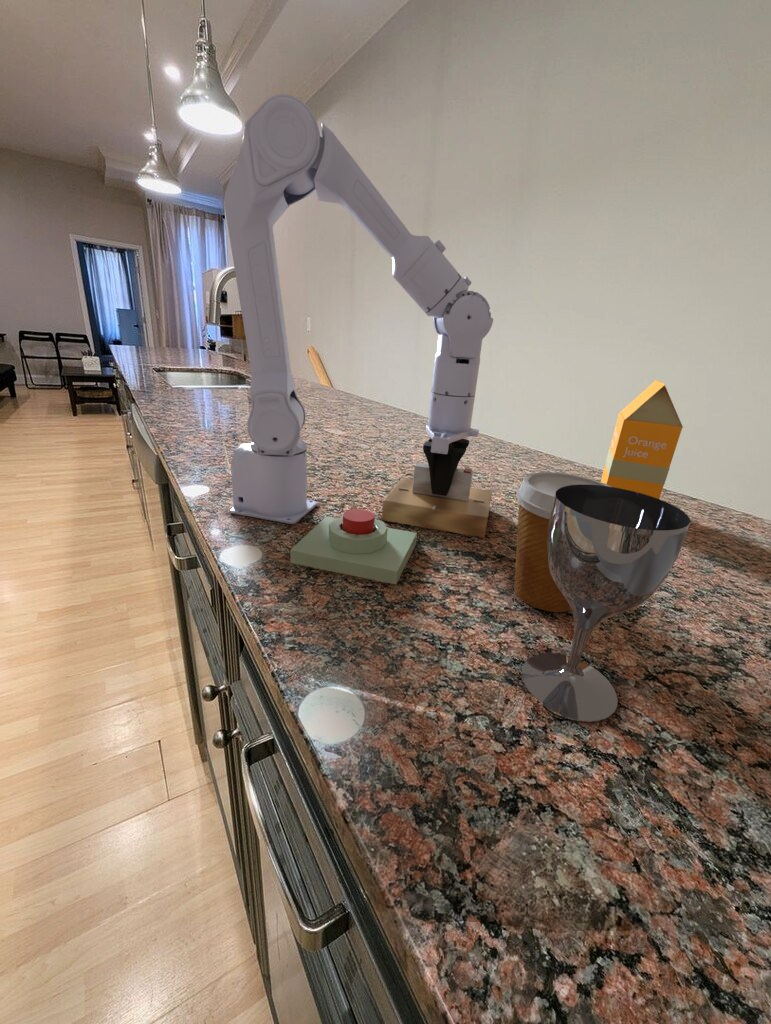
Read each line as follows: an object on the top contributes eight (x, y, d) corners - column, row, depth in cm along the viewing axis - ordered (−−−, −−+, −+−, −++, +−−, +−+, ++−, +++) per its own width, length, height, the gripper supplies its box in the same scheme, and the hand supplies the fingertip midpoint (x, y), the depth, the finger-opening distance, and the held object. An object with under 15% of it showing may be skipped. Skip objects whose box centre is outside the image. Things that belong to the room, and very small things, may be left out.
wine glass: (501, 650, 38) (536, 482, 32) (590, 650, 39) (639, 486, 33) (538, 728, 30) (592, 528, 25) (647, 725, 31) (723, 532, 26)
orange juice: (597, 511, 70) (633, 380, 63) (596, 495, 78) (627, 376, 70) (653, 522, 68) (697, 387, 60) (645, 503, 75) (684, 381, 68)
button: (337, 532, 50) (338, 518, 49) (348, 520, 53) (349, 507, 52) (368, 538, 49) (369, 523, 48) (377, 525, 52) (378, 512, 51)
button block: (290, 563, 49) (289, 534, 47) (325, 528, 58) (326, 503, 56) (396, 585, 46) (398, 555, 45) (415, 545, 55) (418, 519, 54)
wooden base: (380, 522, 61) (381, 500, 60) (401, 494, 72) (402, 475, 71) (483, 540, 58) (487, 517, 57) (489, 507, 69) (492, 488, 68)
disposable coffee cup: (604, 630, 41) (641, 511, 37) (499, 612, 43) (522, 496, 38) (583, 579, 50) (611, 477, 45) (496, 566, 52) (515, 466, 47)
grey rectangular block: (411, 492, 64) (414, 464, 62) (414, 488, 65) (417, 461, 64) (468, 501, 62) (472, 472, 60) (469, 497, 64) (473, 468, 62)
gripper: (479, 404, 51) (463, 514, 56) (487, 390, 64) (473, 480, 69) (419, 397, 52) (408, 505, 58) (438, 385, 65) (429, 474, 71)
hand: (441, 491), depth 63 cm, fingers closed on grey rectangular block, 2 cm apart
